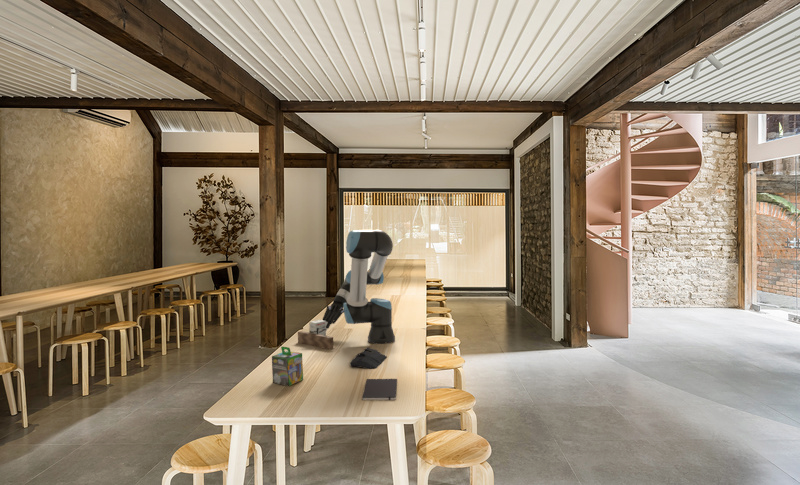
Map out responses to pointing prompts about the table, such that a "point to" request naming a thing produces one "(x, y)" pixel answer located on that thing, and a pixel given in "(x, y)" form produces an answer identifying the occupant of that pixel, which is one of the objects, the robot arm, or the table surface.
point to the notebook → (380, 389)
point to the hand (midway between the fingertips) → (321, 332)
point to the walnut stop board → (315, 340)
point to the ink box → (317, 327)
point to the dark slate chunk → (368, 359)
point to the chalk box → (287, 367)
